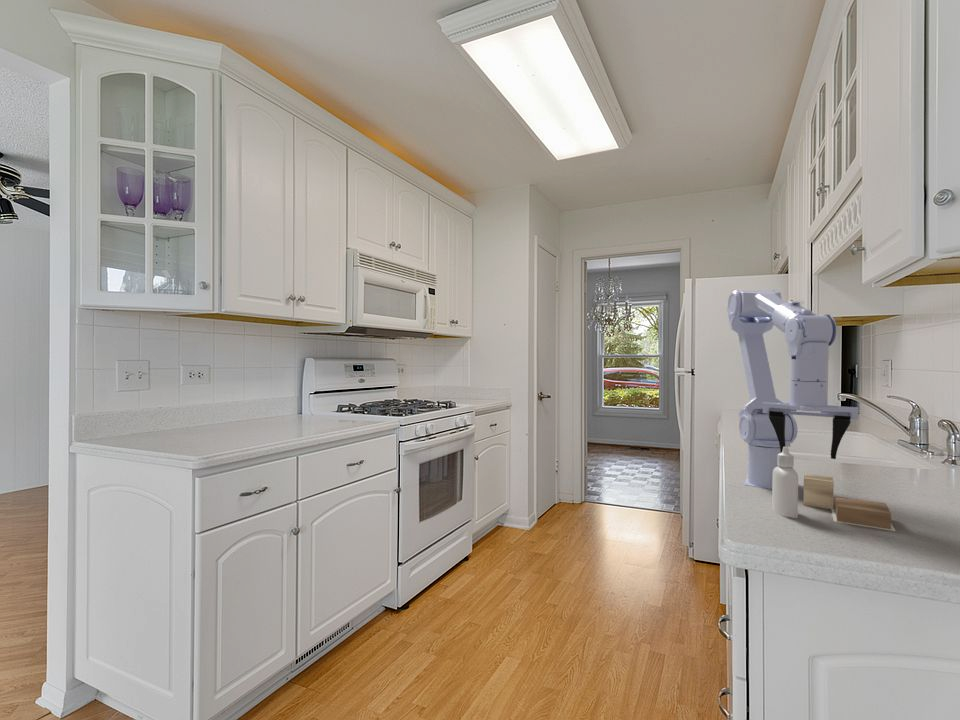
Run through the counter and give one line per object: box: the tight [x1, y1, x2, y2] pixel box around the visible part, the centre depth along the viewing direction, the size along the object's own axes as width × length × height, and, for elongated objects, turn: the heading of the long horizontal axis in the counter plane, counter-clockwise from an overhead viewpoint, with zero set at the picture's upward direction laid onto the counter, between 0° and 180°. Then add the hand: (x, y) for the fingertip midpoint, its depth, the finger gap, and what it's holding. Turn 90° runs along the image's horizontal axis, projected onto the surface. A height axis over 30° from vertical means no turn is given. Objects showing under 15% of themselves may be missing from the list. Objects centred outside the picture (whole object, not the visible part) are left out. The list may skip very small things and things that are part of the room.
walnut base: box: [834, 495, 892, 529], centre depth 85 cm, size 7×7×2 cm
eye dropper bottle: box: [771, 447, 799, 519], centre depth 88 cm, size 4×6×12 cm
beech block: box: [803, 473, 835, 510], centre depth 94 cm, size 4×4×5 cm
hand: (807, 455), depth 92 cm, fingers open, 7 cm apart
